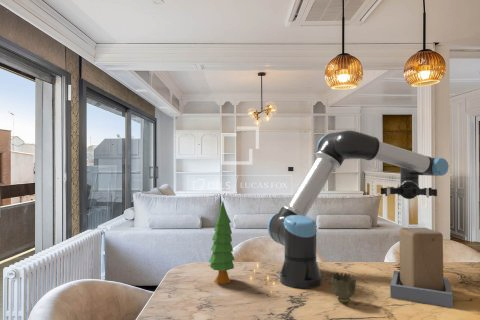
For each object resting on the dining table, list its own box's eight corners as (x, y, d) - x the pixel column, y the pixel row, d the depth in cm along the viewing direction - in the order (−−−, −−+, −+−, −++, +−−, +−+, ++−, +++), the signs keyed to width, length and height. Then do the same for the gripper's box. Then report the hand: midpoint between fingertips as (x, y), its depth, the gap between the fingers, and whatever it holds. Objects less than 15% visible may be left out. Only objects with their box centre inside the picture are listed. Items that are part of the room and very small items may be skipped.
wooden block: (445, 296, 107) (444, 232, 107) (413, 296, 107) (412, 232, 107) (427, 284, 117) (426, 227, 117) (398, 284, 117) (398, 227, 117)
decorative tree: (218, 287, 118) (218, 201, 119) (203, 280, 125) (203, 199, 126) (240, 281, 124) (239, 199, 125) (224, 274, 131) (224, 198, 132)
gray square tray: (390, 297, 108) (390, 285, 108) (394, 281, 123) (393, 270, 123) (452, 307, 100) (452, 294, 100) (448, 289, 115) (448, 277, 115)
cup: (353, 308, 100) (353, 281, 100) (328, 303, 104) (328, 277, 104) (359, 300, 106) (358, 274, 106) (335, 295, 110) (335, 271, 110)
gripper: (442, 199, 141) (445, 204, 122) (378, 197, 152) (372, 201, 134) (442, 181, 141) (445, 184, 122) (378, 180, 153) (372, 182, 134)
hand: (407, 193), depth 128 cm, fingers open, 13 cm apart
